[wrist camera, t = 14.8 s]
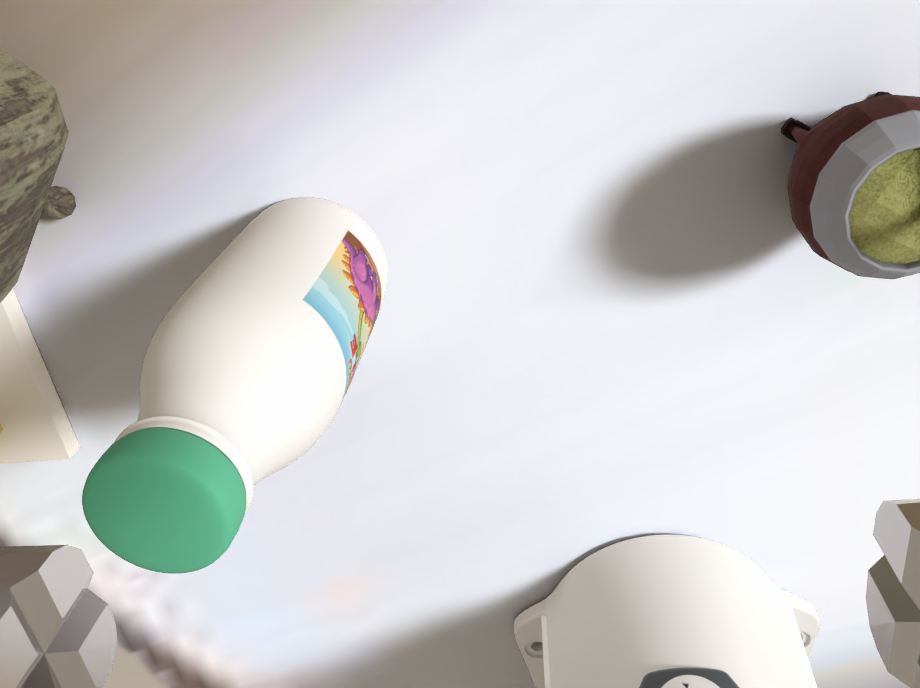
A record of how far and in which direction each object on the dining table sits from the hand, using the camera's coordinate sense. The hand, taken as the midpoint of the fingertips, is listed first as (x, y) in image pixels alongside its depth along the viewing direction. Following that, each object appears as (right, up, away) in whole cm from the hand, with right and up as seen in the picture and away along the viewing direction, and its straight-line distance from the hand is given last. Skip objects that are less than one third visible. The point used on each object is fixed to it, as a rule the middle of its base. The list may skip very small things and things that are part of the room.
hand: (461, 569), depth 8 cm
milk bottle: (-7, +6, +33) cm, 34 cm away
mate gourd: (+18, +11, +28) cm, 35 cm away
